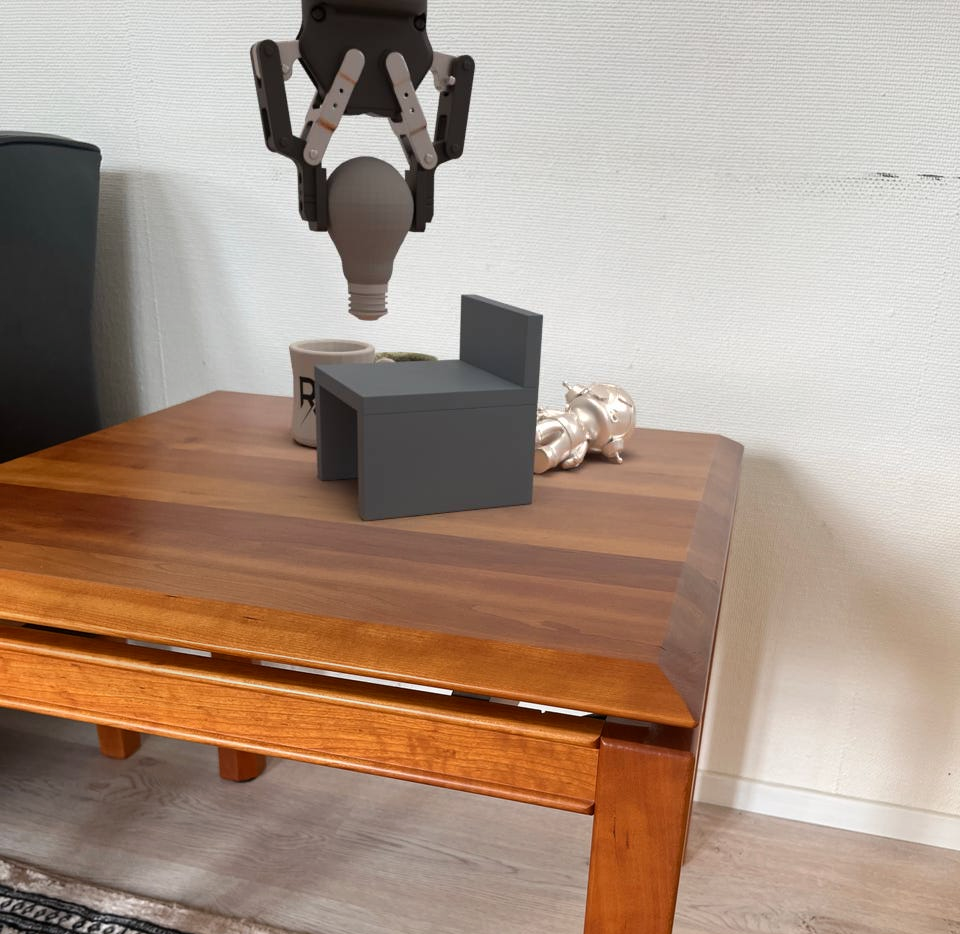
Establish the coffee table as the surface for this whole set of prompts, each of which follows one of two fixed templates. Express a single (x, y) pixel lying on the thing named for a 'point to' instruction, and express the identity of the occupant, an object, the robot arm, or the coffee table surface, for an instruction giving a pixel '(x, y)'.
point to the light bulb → (368, 228)
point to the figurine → (584, 426)
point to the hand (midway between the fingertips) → (367, 230)
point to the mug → (304, 380)
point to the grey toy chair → (438, 420)
